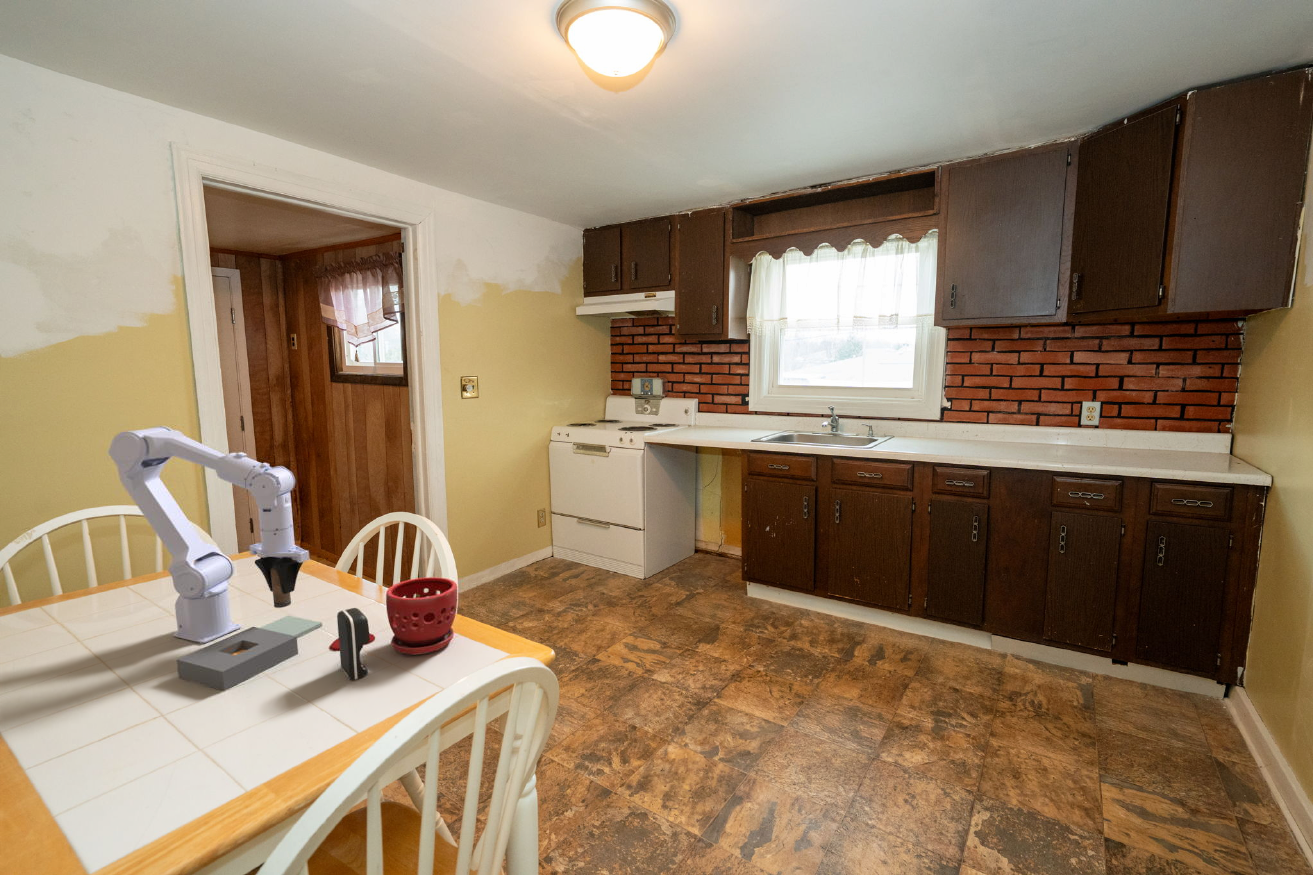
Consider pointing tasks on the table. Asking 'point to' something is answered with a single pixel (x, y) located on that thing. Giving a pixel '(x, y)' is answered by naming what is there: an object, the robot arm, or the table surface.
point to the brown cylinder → (279, 591)
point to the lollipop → (336, 647)
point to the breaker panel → (237, 658)
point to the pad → (293, 626)
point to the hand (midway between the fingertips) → (282, 591)
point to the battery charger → (352, 641)
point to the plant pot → (421, 614)
